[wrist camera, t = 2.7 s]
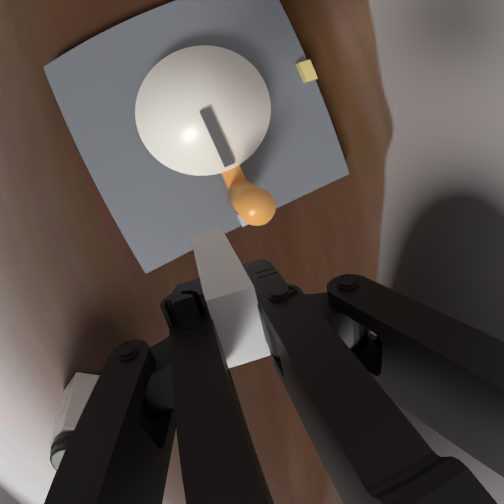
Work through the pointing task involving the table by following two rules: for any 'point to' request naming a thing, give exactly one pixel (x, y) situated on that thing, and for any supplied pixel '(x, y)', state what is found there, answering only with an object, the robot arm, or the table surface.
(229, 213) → the panel
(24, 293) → the table surface
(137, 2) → the table surface
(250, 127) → the dial
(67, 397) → the jar
